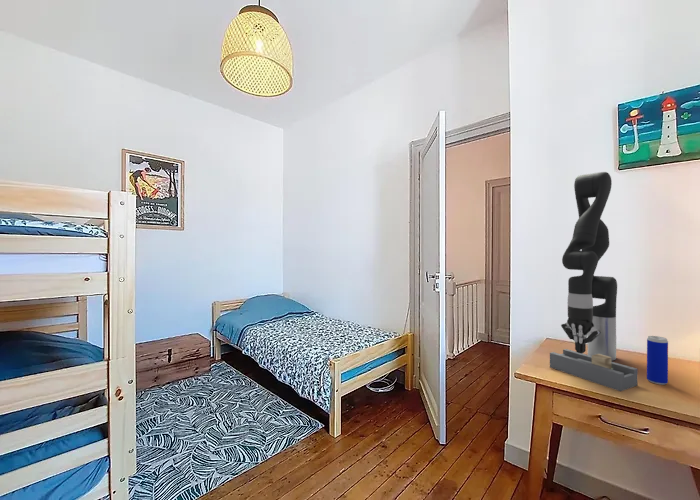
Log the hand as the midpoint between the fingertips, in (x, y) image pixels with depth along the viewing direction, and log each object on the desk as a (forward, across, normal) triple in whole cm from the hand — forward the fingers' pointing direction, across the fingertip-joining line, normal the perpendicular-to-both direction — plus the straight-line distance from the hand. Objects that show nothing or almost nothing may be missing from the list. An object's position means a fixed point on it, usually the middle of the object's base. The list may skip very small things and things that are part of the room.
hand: (580, 352), depth 120 cm
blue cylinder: (+8, -17, -14) cm, 23 cm away
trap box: (+7, -4, 0) cm, 8 cm away
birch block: (+3, -7, 0) cm, 8 cm away
